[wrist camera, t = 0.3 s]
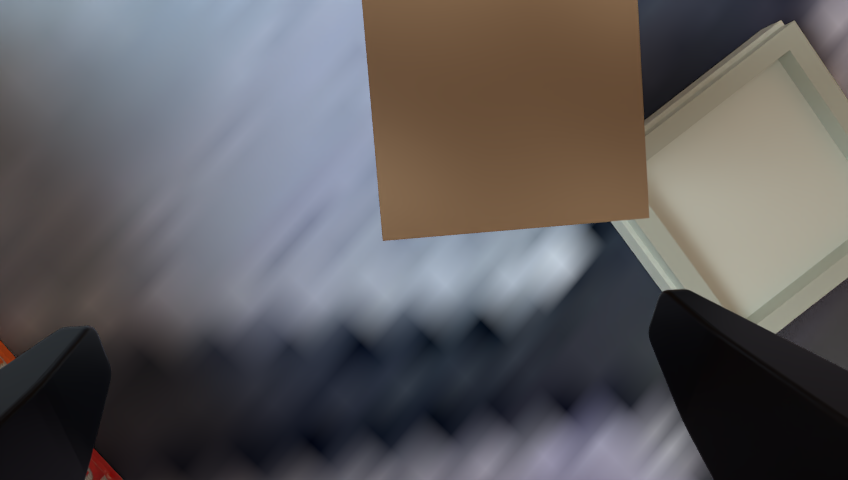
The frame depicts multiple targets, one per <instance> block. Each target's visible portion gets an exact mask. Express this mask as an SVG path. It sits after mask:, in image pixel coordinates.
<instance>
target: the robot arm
mask: <svg viewBox="0 0 848 480" xmlns="http://www.w3.org/2000/svg"><path fill="white" fill-rule="evenodd" d="M649 338H650V342H651V345H652V347H653V350H654V352H655V355H656V357H657V360H658V362H659V365H660V367H661V370H662V372H663V374H664V377H665V379H666V382H667V384H668V387H669V389H670V392H671V394H672V397H673V399H674V402H675V404H676V407H677V409H678V411H679V414H680V416H681V418H682V420H683V422H684V424H685V426H686V428H687V430H688V432H689V434H690V436H691V438H692V440H693V442H694V444H695V446H696V447H697V449H698V451H699V453H700V455H701V457H702V459H703V461H704V462H705V464H706V466H707V468H708V470H709V472H710V474H711V476H712V478H713V479H714V480H848V371H847V370H845V369H843V368H842V367H840V366H838V365H836V364H834V363H832V362H830V361H828V360H826V359H824V358H822V357H820V356H818V355H816V354H814V353H812V352H810V351H808V350H806V349H804V348H802V347H800V346H798V345H796V344H794V343H792V342H791V341H789V340H787V339H785V338H783V337H781V336H779V335H777V334H775V333H773V332H771V331H769V330H767V329H765V328H763V327H761V326H759V325H757V324H755V323H753V322H751V321H749V320H747V319H745V318H743V317H742V316H740V315H738V314H736V313H734V312H732V311H730V310H728V309H726V308H724V307H722V306H720V305H718V304H716V303H714V302H712V301H710V300H708V299H706V298H704V297H702V296H700V295H698V294H696V293H695V292H693V291H691V290H688V289H673V290H665V291H663V292H662V293H661V294H660V295H659V297H658V300H657V304H656V307H655V310H654V313H653V316H652V319H651V322H650V326H649ZM110 379H111V369H110V364H109V361H108V359H107V356H106V353H105V351H104V348H103V346H102V343H101V340H100V338H99V335H98V333H97V331H96V330H95V329H94V328H93V327H91V326H74V327H64V328H61V329H59V330H57V331H56V332H54V333H53V334H51V335H50V336H48V337H47V338H45V339H44V340H42V341H41V342H39V343H38V344H36V345H35V346H33V347H32V348H30V349H29V350H27V351H26V352H24V353H23V354H22V355H20V356H19V357H17V358H16V359H14V360H13V361H11V362H10V363H8V364H7V365H5V366H4V367H2V368H1V369H0V480H85V477H86V474H87V471H88V467H89V464H90V460H91V456H92V452H93V448H94V444H95V440H96V436H97V432H98V428H99V424H100V420H101V416H102V412H103V408H104V404H105V400H106V396H107V392H108V388H109V384H110Z"/></svg>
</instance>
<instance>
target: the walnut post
mask: <svg viewBox="0 0 848 480" xmlns="http://www.w3.org/2000/svg"><path fill="white" fill-rule="evenodd" d="M362 7H363V18H364V30H365V41H366V53H367V64H368V76H369V87H370V99H371V110H372V122H373V133H374V145H375V156H376V168H377V179H378V191H379V202H380V214H381V225H382V237H383V241H386V240H398V239H410V238H421V237H433V236H445V235H457V234H468V233H480V232H492V231H504V230H515V229H527V228H539V227H551V226H562V225H574V224H586V223H598V222H609V221H621V220H633V219H645V218H649V201H648V183H647V164H646V146H645V127H644V109H643V90H642V72H641V53H640V35H639V16H638V0H362Z"/></svg>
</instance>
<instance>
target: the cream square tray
mask: <svg viewBox="0 0 848 480" xmlns="http://www.w3.org/2000/svg"><path fill="white" fill-rule="evenodd" d="M644 127H645V146H646V164H647V183H648V201H649V218H645V219H633V220H621V221H611V223H612V224H613V226H614V227H615V228H616V230H617V231H618V232H619V234H620V235H621V236H622V238H623V239H624V240H625V242H626V243H627V245H628V246H629V247H630V249H631V250H632V251H633V253H634V254H635V255H636V257H637V258H638V259H639V261H640V262H641V264H642V265H643V266H644V268H645V269H646V270H647V272H648V273H649V274H650V276H651V277H652V278H653V280H654V281H655V283H656V284H657V285H658V287H659V288H660V289H661V291H662V292H663V291H665V290H673V289H688V290H691V291H693V292H695V293H696V294H698V295H700V296H702V297H704V298H706V299H708V300H710V301H712V302H714V303H716V304H718V305H720V306H722V307H724V308H726V309H728V310H730V311H732V312H734V313H736V314H738V315H740V316H742V317H743V318H745V319H747V320H749V321H751V322H753V323H755V324H757V325H759V326H761V327H763V328H765V329H767V330H769V331H771V332H773V333H775V334H776V333H777V332H778V331H780V330H781V329H782V328H784V327H785V326H786V325H787V324H789V323H790V322H791V321H793V320H794V319H795V318H796V317H798V316H799V315H800V314H802V313H803V312H804V311H805V310H807V309H808V308H809V307H811V306H812V305H813V304H814V303H816V302H817V301H818V300H819V299H821V298H822V297H823V296H825V295H826V294H827V293H828V292H830V291H831V290H832V289H834V288H835V287H836V286H837V285H839V284H840V283H841V282H843V281H844V280H845V279H846V278H848V99H847V98H846V96H845V95H844V93H843V92H842V90H841V89H840V87H839V86H838V84H837V83H836V81H835V80H834V78H833V77H832V75H831V74H830V72H829V71H828V70H827V68H826V67H825V65H824V64H823V62H822V61H821V59H820V58H819V56H818V55H817V53H816V52H815V50H814V49H813V47H812V46H811V44H810V43H809V41H808V40H807V38H806V37H805V35H804V34H803V32H802V31H801V29H800V28H799V27H798V25H797V24H796V22H795V21H792V22H790V23H788V24H786V25H784V23H783V22H782V21H781V20H780V21H778V22H776V23H774V24H772V25H770V26H768V27H766V28H764V29H762V30H760V31H759V32H758V33H756V34H755V35H754V36H752V37H751V38H750V39H749V40H747V41H746V42H745V43H743V44H742V45H741V46H740V47H738V48H737V49H736V50H734V51H733V52H732V53H731V54H729V55H728V56H727V57H725V58H724V59H723V60H722V61H720V62H719V63H718V64H716V65H715V66H714V67H713V68H711V69H710V70H709V71H707V72H706V73H705V74H703V75H702V76H701V77H700V78H698V79H697V80H696V81H694V82H693V83H692V84H691V85H689V86H688V87H687V88H685V89H684V90H683V91H682V92H680V93H679V94H678V95H676V96H675V97H674V98H673V99H671V100H670V101H669V102H667V103H666V104H665V105H664V106H662V107H661V108H660V109H658V110H657V111H656V112H655V113H653V114H652V115H651V116H649V117H648V118H647V119H645V120H644Z"/></svg>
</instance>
